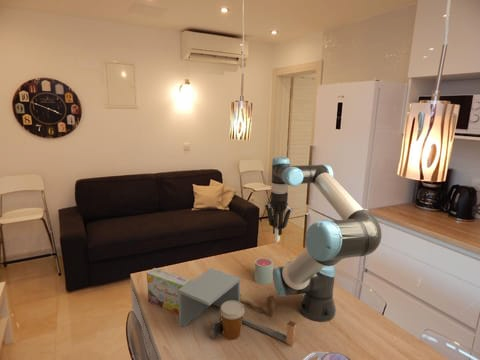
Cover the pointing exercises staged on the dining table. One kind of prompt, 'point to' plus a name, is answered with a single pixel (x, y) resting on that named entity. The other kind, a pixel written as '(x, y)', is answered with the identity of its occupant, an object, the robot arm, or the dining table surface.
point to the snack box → (165, 289)
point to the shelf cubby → (206, 293)
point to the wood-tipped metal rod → (286, 338)
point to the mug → (263, 271)
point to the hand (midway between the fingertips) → (277, 240)
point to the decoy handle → (267, 311)
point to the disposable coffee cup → (232, 319)
